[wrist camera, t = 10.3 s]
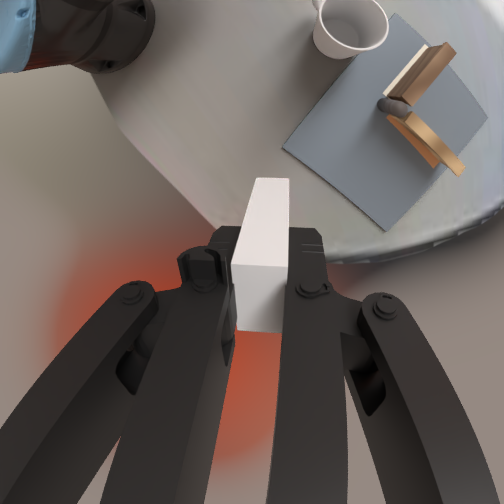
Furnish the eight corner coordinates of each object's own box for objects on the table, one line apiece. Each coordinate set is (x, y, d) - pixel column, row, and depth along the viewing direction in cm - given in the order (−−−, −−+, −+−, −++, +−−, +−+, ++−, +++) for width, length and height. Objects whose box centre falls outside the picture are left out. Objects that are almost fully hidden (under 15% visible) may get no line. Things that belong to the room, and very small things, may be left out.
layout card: (282, 146, 37) (282, 147, 36) (394, 13, 23) (395, 12, 22) (385, 230, 42) (386, 232, 41) (486, 117, 28) (488, 117, 27)
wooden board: (388, 116, 31) (404, 122, 26) (395, 106, 30) (412, 111, 25) (439, 163, 33) (458, 177, 28) (445, 155, 32) (465, 167, 27)
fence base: (374, 105, 31) (389, 109, 26) (425, 45, 24) (446, 41, 19) (384, 114, 32) (401, 120, 26) (435, 55, 25) (457, 53, 19)
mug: (370, 51, 27) (401, 39, 17) (328, 68, 30) (343, 60, 20) (330, -7, 23) (344, -41, 13) (287, 10, 26) (284, -20, 16)
